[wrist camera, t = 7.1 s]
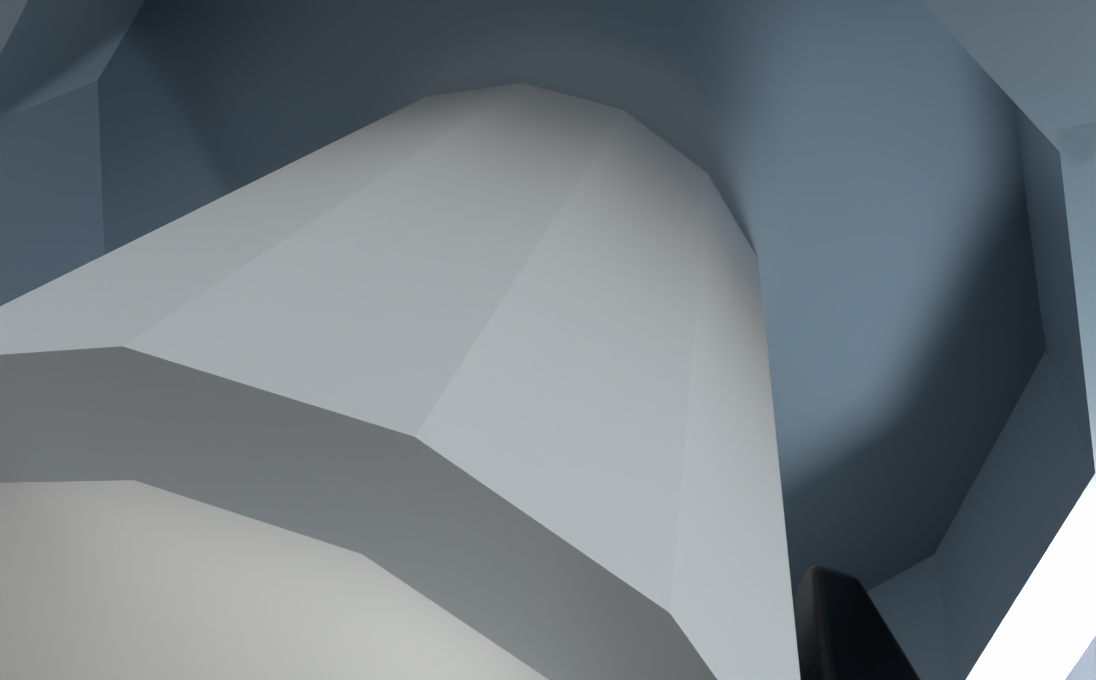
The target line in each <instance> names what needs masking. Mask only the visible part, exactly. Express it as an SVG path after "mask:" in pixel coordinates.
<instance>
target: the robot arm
mask: <svg viewBox="0 0 1096 680" xmlns="http://www.w3.org/2000/svg"><path fill="white" fill-rule="evenodd" d="M793 608H794V618H795V628H796V638H797V648H798V658H799V668H800V678H801V680H921V679H920V677H919V676H918V674H917V672H916V671H915V669H914V668H913V666H912V664H911V663H910V661H909V659H908V658H907V656H906V655H905V653H904V651H903V650H902V648H901V647H900V645H899V643H898V642H897V640H896V639H895V637H894V635H893V634H892V632H891V630H890V629H889V627H888V626H887V624H886V622H885V621H884V619H883V618H882V616H881V614H880V613H879V611H878V609H877V608H876V606H875V605H874V603H873V601H872V600H871V598H870V597H869V595H868V593H867V592H866V590H865V588H864V587H863V585H862V584H861V582H860V581H859V580H858V579H857V578H856V577H854V576H852V575H850V574H846V573H843V572H840V571H837V570H834V569H830V568H827V567H824V566H821V565H812V566H810V567H809V568H808V569H807V570H806V571H805V573H804V574H803V576H802V578H801V581H800V583H799V585H798V587H797V589H796V592H795V594H794V596H793Z"/></svg>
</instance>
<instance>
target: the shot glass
mask: <svg viewBox="0 0 1096 680" xmlns="http://www.w3.org/2000/svg"><path fill="white" fill-rule="evenodd" d="M0 680H801V678H800V668H799V658H798V648H797V638H796V628H795V618H794V608H793V598H792V588H791V578H790V568H789V558H788V548H787V538H786V528H785V518H784V508H783V498H782V488H781V478H780V468H779V458H778V448H777V438H776V428H775V418H774V408H773V398H772V388H771V378H770V368H769V358H768V348H767V339H766V329H765V319H764V310H763V300H762V291H761V281H760V272H759V262H758V258H757V256H756V254H755V253H754V251H753V249H752V248H751V246H750V244H749V242H748V241H747V239H746V237H745V236H744V234H743V232H742V231H741V229H740V227H739V225H738V224H737V222H736V220H735V219H734V217H733V215H732V213H731V212H730V210H729V208H728V207H727V205H726V203H725V202H724V200H723V198H722V196H721V195H720V193H719V191H718V190H717V188H716V186H715V184H714V183H713V181H712V179H711V178H710V176H709V174H708V173H707V172H706V171H704V170H703V169H702V168H700V167H699V166H698V165H696V164H695V163H694V162H692V161H691V160H690V159H688V158H687V157H686V156H684V155H683V154H682V153H680V152H679V151H678V150H676V149H675V148H674V147H672V146H671V145H670V144H668V143H667V142H666V141H664V140H663V139H662V138H661V137H659V136H658V135H657V134H655V133H654V132H653V131H651V130H650V129H649V128H647V127H646V126H645V125H643V124H642V123H641V122H639V121H638V120H637V119H635V118H634V117H633V116H631V115H630V114H629V113H627V112H626V111H625V110H623V109H619V108H615V107H611V106H608V105H604V104H600V103H597V102H593V101H589V100H585V99H582V98H578V97H574V96H570V95H567V94H563V93H559V92H556V91H552V90H548V89H544V88H541V87H537V86H533V85H530V84H526V83H518V84H511V85H503V86H496V87H489V88H482V89H475V90H468V91H461V92H454V93H447V94H440V95H433V96H426V97H424V98H422V99H420V100H418V101H416V102H414V103H412V104H410V105H408V106H406V107H404V108H402V109H400V110H398V111H396V112H394V113H392V114H390V115H388V116H386V117H384V118H382V119H380V120H378V121H376V122H374V123H372V124H369V125H367V126H365V127H363V128H361V129H359V130H357V131H355V132H353V133H351V134H349V135H347V136H345V137H343V138H341V139H339V140H337V141H335V142H333V143H331V144H329V145H327V146H325V147H323V148H321V149H319V150H317V151H315V152H313V153H311V154H309V155H307V156H305V157H302V158H300V159H298V160H296V161H294V162H292V163H290V164H288V165H286V166H284V167H282V168H280V169H278V170H276V171H274V172H272V173H270V174H268V175H266V176H264V177H262V178H260V179H258V180H256V181H254V182H252V183H250V184H248V185H246V186H244V187H242V188H240V189H238V190H235V191H233V192H231V193H229V194H227V195H225V196H223V197H221V198H219V199H217V200H215V201H213V202H211V203H209V204H207V205H205V206H203V207H201V208H199V209H197V210H195V211H193V212H191V213H189V214H187V215H185V216H183V217H181V218H179V219H177V220H175V221H173V222H171V223H168V224H166V225H164V226H162V227H160V228H158V229H156V230H154V231H152V232H150V233H148V234H146V235H144V236H142V237H140V238H138V239H136V240H134V241H132V242H130V243H128V244H126V245H124V246H122V247H120V248H118V249H116V250H114V251H112V252H110V253H108V254H106V255H104V256H101V257H99V258H97V259H95V260H93V261H91V262H89V263H87V264H85V265H83V266H81V267H79V268H77V269H75V270H73V271H71V272H69V273H67V274H65V275H63V276H61V277H59V278H57V279H55V280H53V281H51V282H49V283H47V284H45V285H43V286H41V287H39V288H36V289H34V290H32V291H30V292H28V293H26V294H24V295H22V296H20V297H18V298H16V299H14V300H12V301H10V302H8V303H6V304H4V305H2V306H0Z"/></svg>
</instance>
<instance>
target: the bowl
mask: <svg viewBox="0 0 1096 680" xmlns="http://www.w3.org/2000/svg"><path fill="white" fill-rule="evenodd" d="M518 83H526V84H530V85H533V86H537V87H541V88H544V89H548V90H552V91H556V92H559V93H563V94H567V95H570V96H574V97H578V98H582V99H585V100H589V101H593V102H597V103H600V104H604V105H608V106H611V107H615V108H619V109H623V110H625V111H626V112H627V113H629V114H630V115H631V116H633V117H634V118H635V119H637V120H638V121H639V122H641V123H642V124H643V125H645V126H646V127H647V128H649V129H650V130H651V131H653V132H654V133H655V134H657V135H658V136H659V137H661V138H662V139H663V140H664V141H666V142H667V143H668V144H670V145H671V146H672V147H674V148H675V149H676V150H678V151H679V152H680V153H682V154H683V155H684V156H686V157H687V158H688V159H690V160H691V161H692V162H694V163H695V164H696V165H698V166H699V167H700V168H702V169H703V170H704V171H706V172H707V173H708V174H709V176H710V178H711V179H712V181H713V183H714V184H715V186H716V188H717V190H718V191H719V193H720V195H721V196H722V198H723V200H724V202H725V203H726V205H727V207H728V208H729V210H730V212H731V213H732V215H733V217H734V219H735V220H736V222H737V224H738V225H739V227H740V229H741V231H742V232H743V234H744V236H745V237H746V239H747V241H748V242H749V244H750V246H751V248H752V249H753V251H754V253H755V254H756V256H757V258H758V262H759V272H760V281H761V291H762V300H763V310H764V319H765V329H766V339H767V348H768V358H769V368H770V378H771V388H772V398H773V408H774V418H775V428H776V438H777V448H778V458H779V468H780V478H781V488H782V498H783V508H784V518H785V528H786V538H787V548H788V558H789V568H790V578H791V588H792V598H793V596H794V594H795V592H796V589H797V587H798V585H799V583H800V581H801V578H802V576H803V574H804V573H805V571H806V570H807V569H808V568H809V567H810V566H812V565H821V566H824V567H827V568H830V569H834V570H837V571H840V572H843V573H846V574H850V575H852V576H854V577H856V578H857V579H858V580H859V581H860V582H861V584H862V585H863V587H864V588H865V590H866V592H867V593H868V595H869V597H870V598H871V600H872V601H873V603H874V605H875V606H876V608H877V609H878V611H879V613H880V614H881V616H882V618H883V619H884V621H885V622H886V624H887V626H888V627H889V629H890V630H891V632H892V634H893V635H894V637H895V639H896V640H897V642H898V643H899V645H900V647H901V648H902V650H903V651H904V653H905V655H906V656H907V658H908V659H909V661H910V663H911V664H912V666H913V668H914V669H915V671H916V672H917V674H918V676H919V677H920V679H921V680H1064V679H1065V678H1066V676H1067V675H1068V673H1069V672H1070V671H1071V669H1072V668H1073V666H1074V665H1075V664H1076V662H1077V661H1078V659H1079V658H1080V656H1081V655H1082V654H1083V652H1084V651H1085V649H1086V648H1087V646H1088V645H1089V644H1090V642H1091V641H1092V639H1093V638H1094V636H1095V635H1096V0H0V306H2V305H4V304H6V303H8V302H10V301H12V300H14V299H16V298H18V297H20V296H22V295H24V294H26V293H28V292H30V291H32V290H34V289H36V288H39V287H41V286H43V285H45V284H47V283H49V282H51V281H53V280H55V279H57V278H59V277H61V276H63V275H65V274H67V273H69V272H71V271H73V270H75V269H77V268H79V267H81V266H83V265H85V264H87V263H89V262H91V261H93V260H95V259H97V258H99V257H101V256H104V255H106V254H108V253H110V252H112V251H114V250H116V249H118V248H120V247H122V246H124V245H126V244H128V243H130V242H132V241H134V240H136V239H138V238H140V237H142V236H144V235H146V234H148V233H150V232H152V231H154V230H156V229H158V228H160V227H162V226H164V225H166V224H168V223H171V222H173V221H175V220H177V219H179V218H181V217H183V216H185V215H187V214H189V213H191V212H193V211H195V210H197V209H199V208H201V207H203V206H205V205H207V204H209V203H211V202H213V201H215V200H217V199H219V198H221V197H223V196H225V195H227V194H229V193H231V192H233V191H235V190H238V189H240V188H242V187H244V186H246V185H248V184H250V183H252V182H254V181H256V180H258V179H260V178H262V177H264V176H266V175H268V174H270V173H272V172H274V171H276V170H278V169H280V168H282V167H284V166H286V165H288V164H290V163H292V162H294V161H296V160H298V159H300V158H302V157H305V156H307V155H309V154H311V153H313V152H315V151H317V150H319V149H321V148H323V147H325V146H327V145H329V144H331V143H333V142H335V141H337V140H339V139H341V138H343V137H345V136H347V135H349V134H351V133H353V132H355V131H357V130H359V129H361V128H363V127H365V126H367V125H369V124H372V123H374V122H376V121H378V120H380V119H382V118H384V117H386V116H388V115H390V114H392V113H394V112H396V111H398V110H400V109H402V108H404V107H406V106H408V105H410V104H412V103H414V102H416V101H418V100H420V99H422V98H424V97H426V96H433V95H440V94H447V93H454V92H461V91H468V90H475V89H482V88H489V87H496V86H503V85H511V84H518Z"/></svg>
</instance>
